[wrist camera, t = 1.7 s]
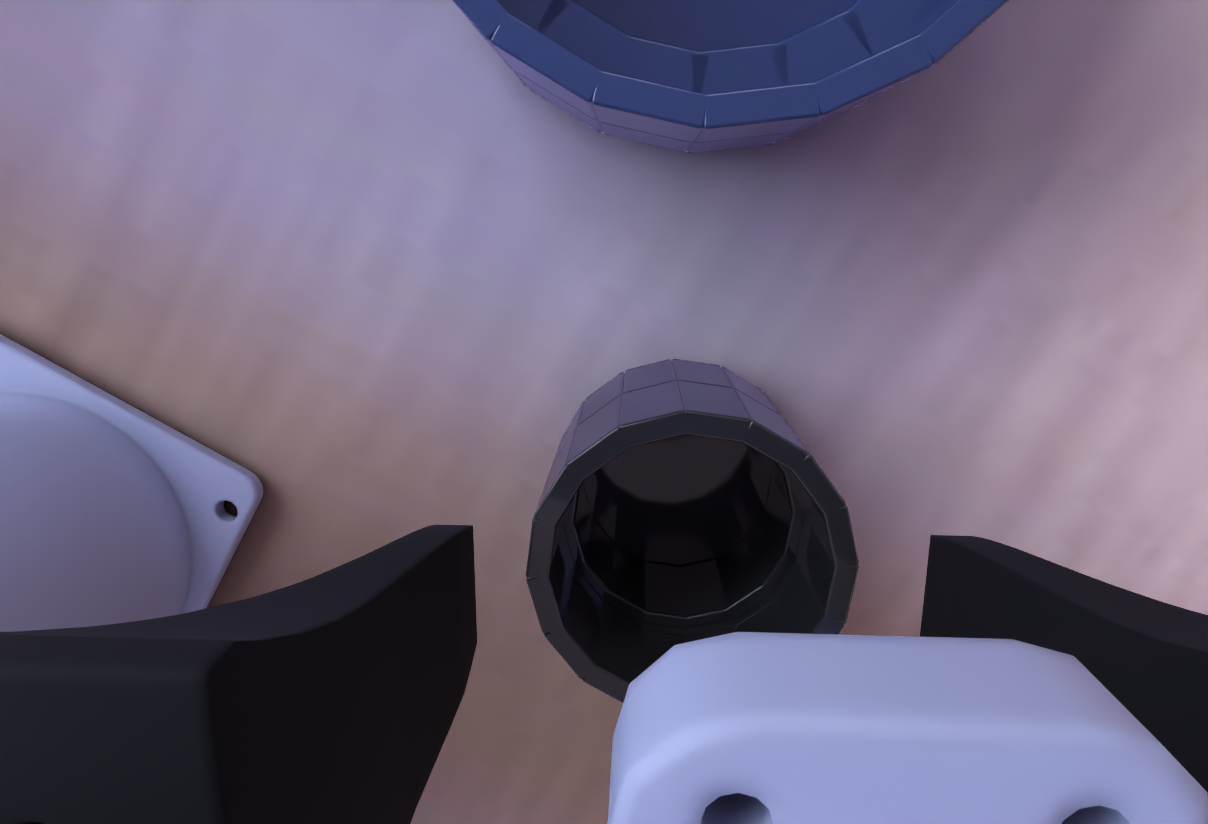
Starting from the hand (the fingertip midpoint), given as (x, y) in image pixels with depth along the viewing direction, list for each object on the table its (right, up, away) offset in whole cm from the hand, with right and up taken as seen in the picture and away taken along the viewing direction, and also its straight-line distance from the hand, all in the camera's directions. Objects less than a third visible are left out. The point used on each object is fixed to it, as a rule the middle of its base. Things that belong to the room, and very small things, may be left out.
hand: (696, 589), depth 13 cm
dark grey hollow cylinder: (0, +1, +6) cm, 6 cm away
